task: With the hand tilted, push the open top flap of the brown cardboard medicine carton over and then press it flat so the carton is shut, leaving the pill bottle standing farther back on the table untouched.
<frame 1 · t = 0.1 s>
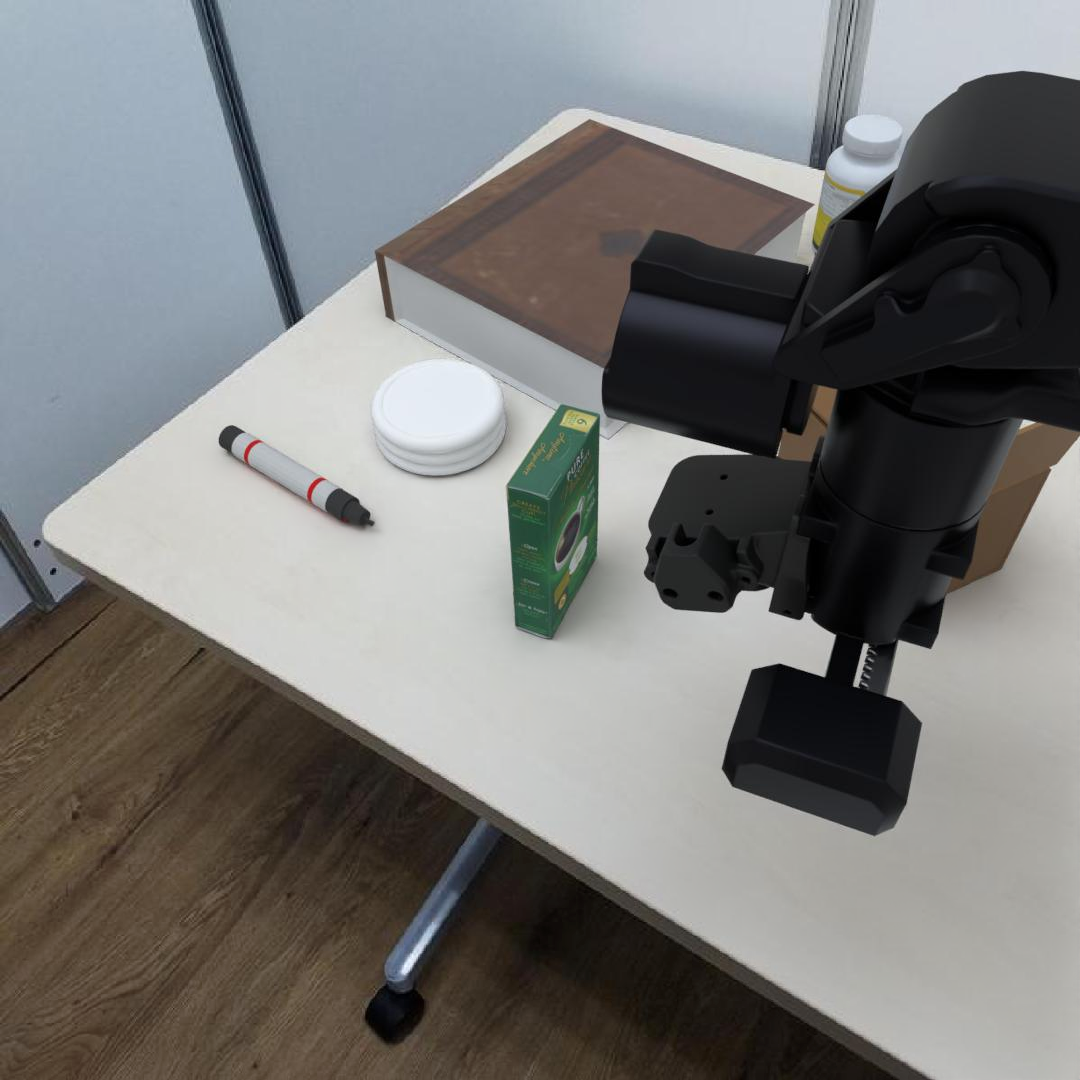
hand: (820, 708, 47), 12 cm above the table, tool pointing down, fingers open, 9 cm apart
coffee box: (557, 591, 68), on the table
book: (597, 295, 89), on the table
pill bottle: (845, 252, 92), on the table
white round container: (441, 434, 78), on the table
carton: (881, 530, 70), on the table
flap: (1015, 457, 56), point 13 cm above the table, hinge at 100.0°
marker: (302, 490, 74), on the table
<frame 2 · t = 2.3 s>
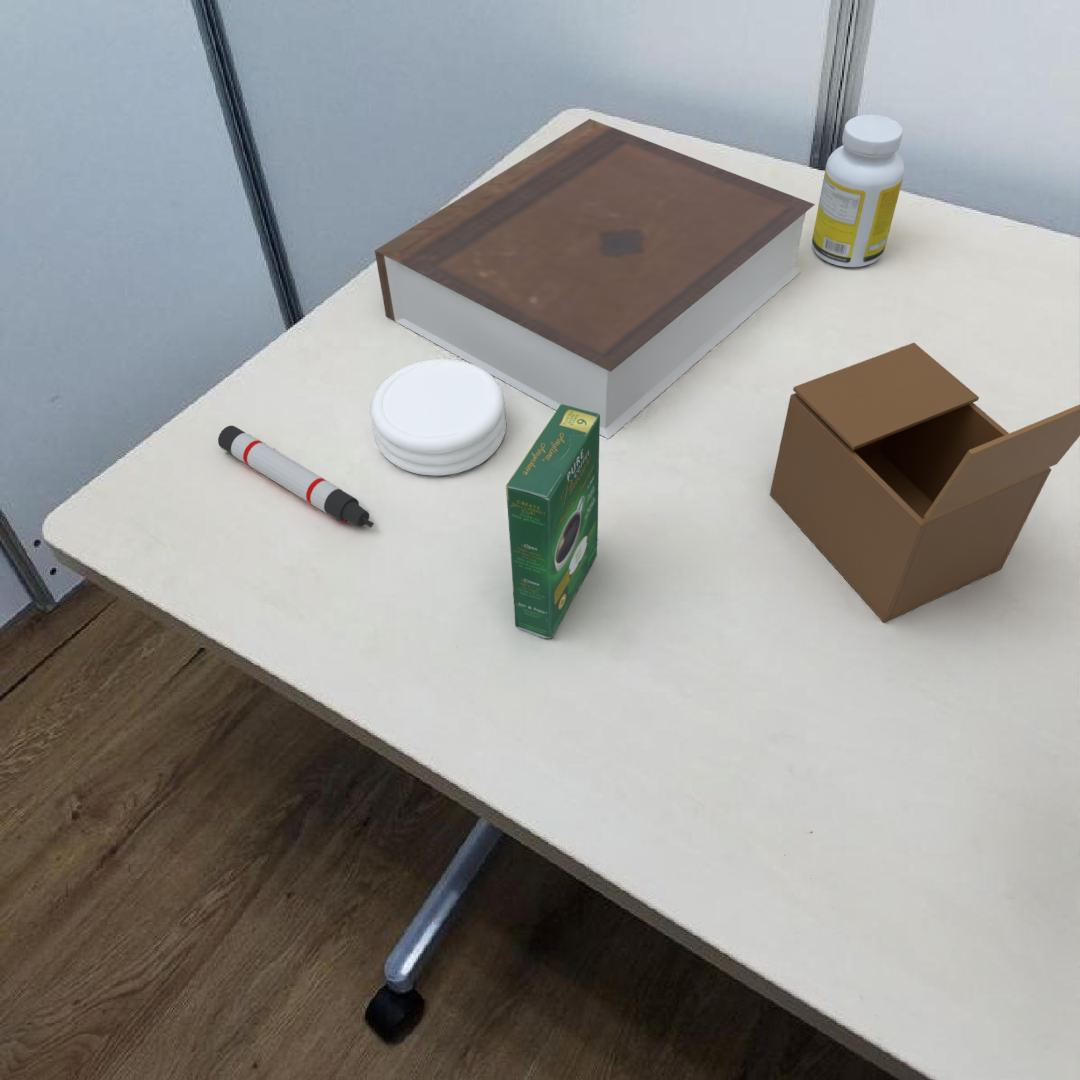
nothing on the table moved.
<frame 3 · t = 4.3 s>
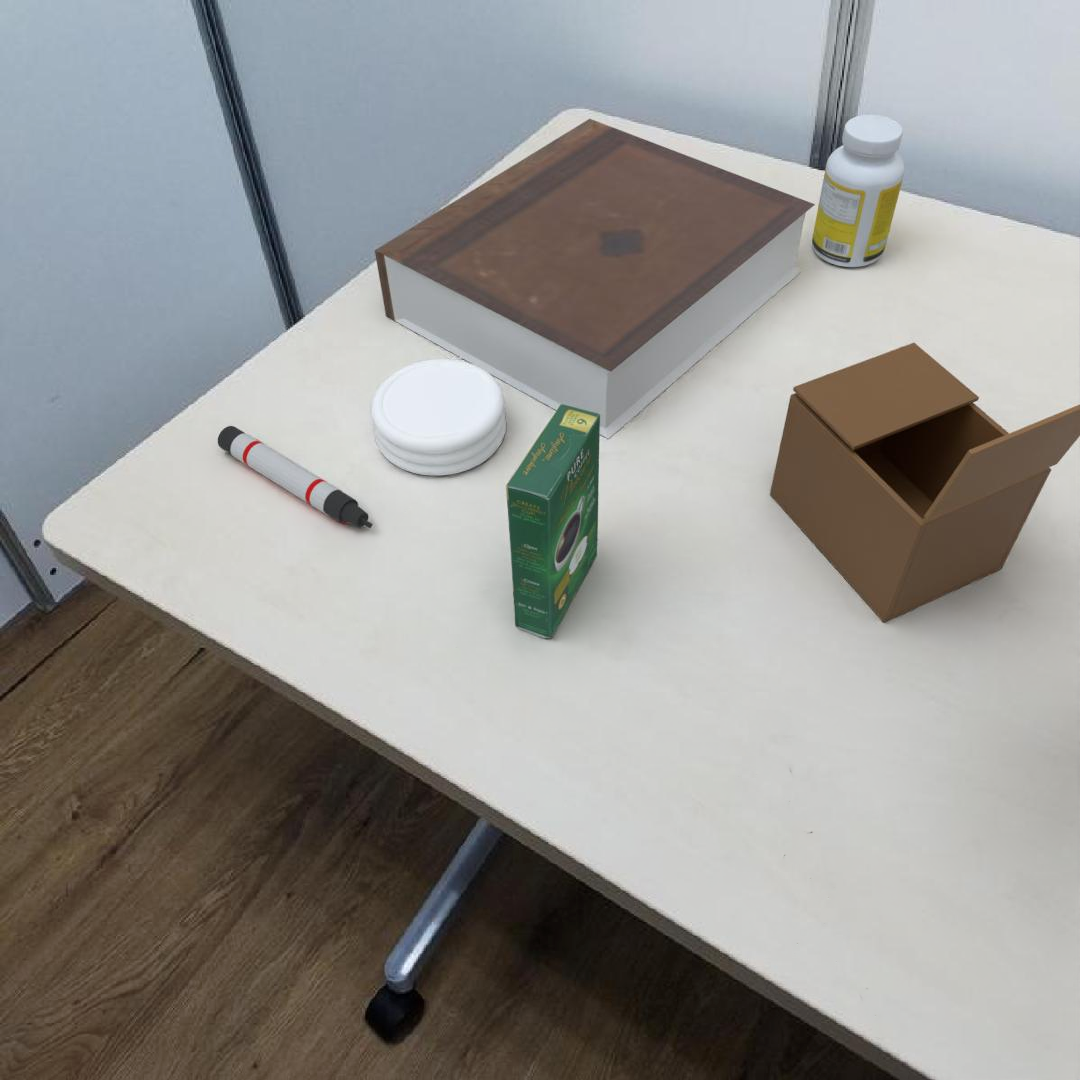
nothing on the table moved.
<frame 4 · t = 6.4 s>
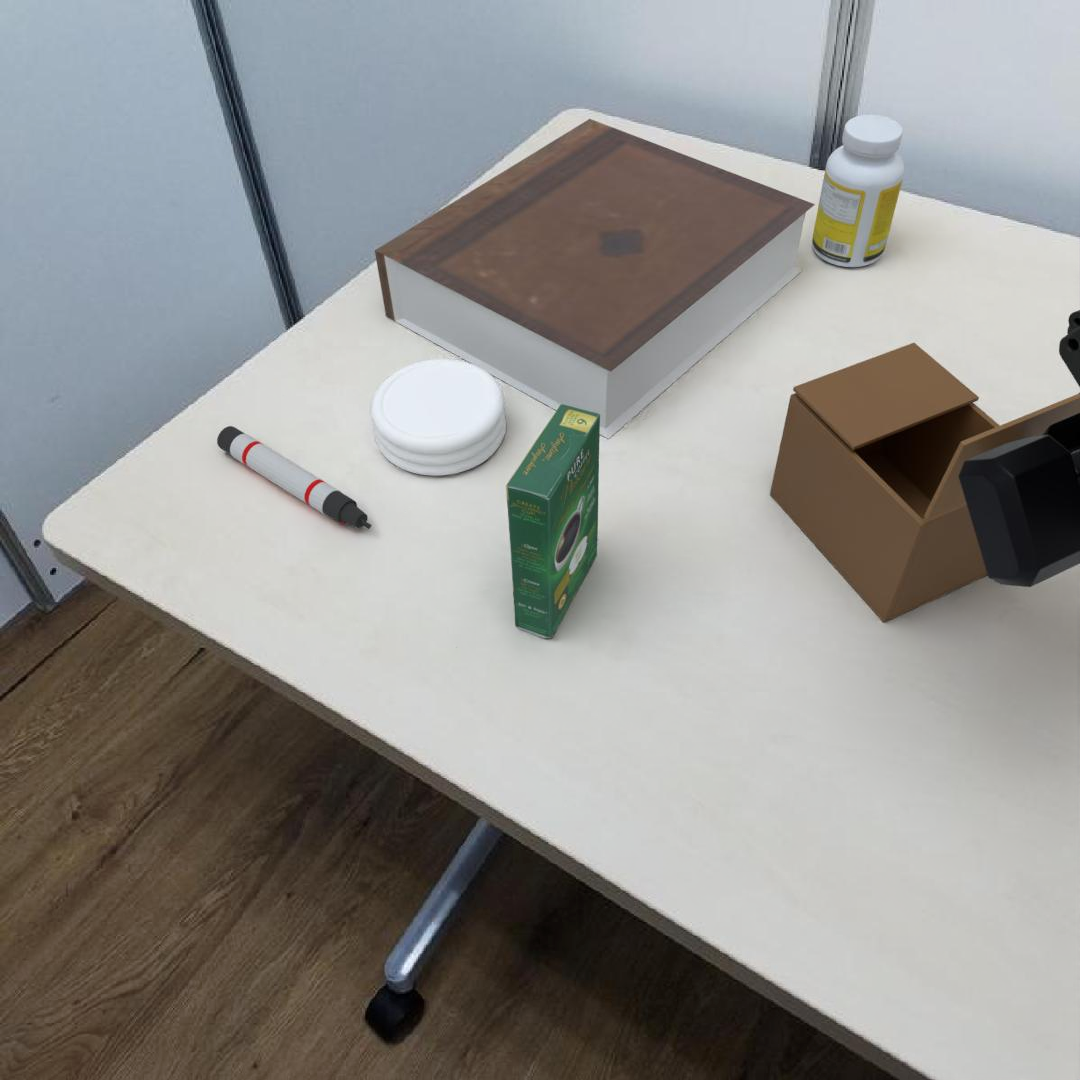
hand: (1011, 469, 57), 12 cm above the table, tool tilted 45°, fingers closed, pressing on flap
flap: (1011, 453, 56), point 13 cm above the table, hinge at 94.0°, touching gripper
everything else where it was.
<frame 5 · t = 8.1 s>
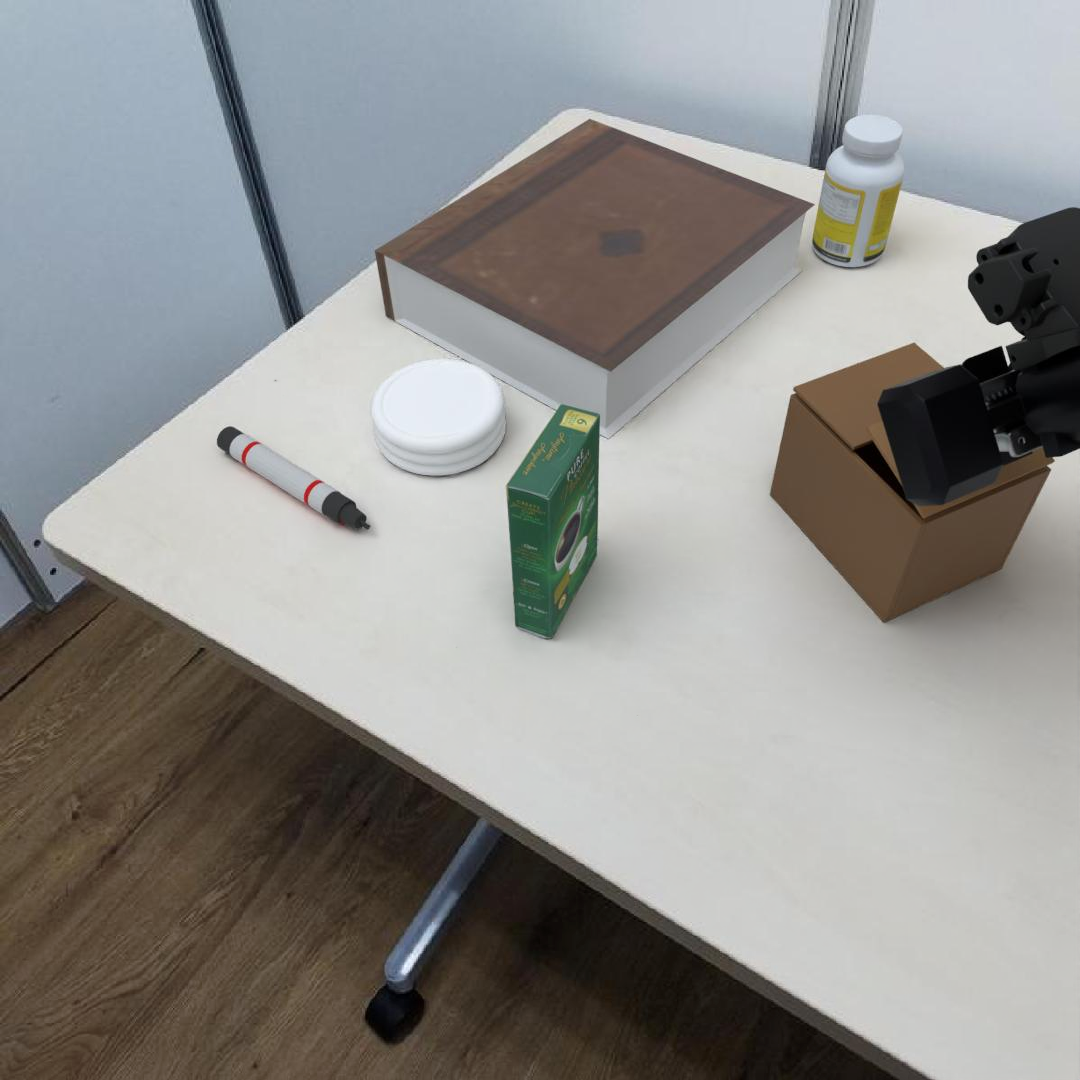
hand: (940, 409, 60), 12 cm above the table, tool tilted 45°, fingers closed, pressing on flap
flap: (960, 445, 60), point 11 cm above the table, hinge at 19.4°, touching gripper
everything else where it was.
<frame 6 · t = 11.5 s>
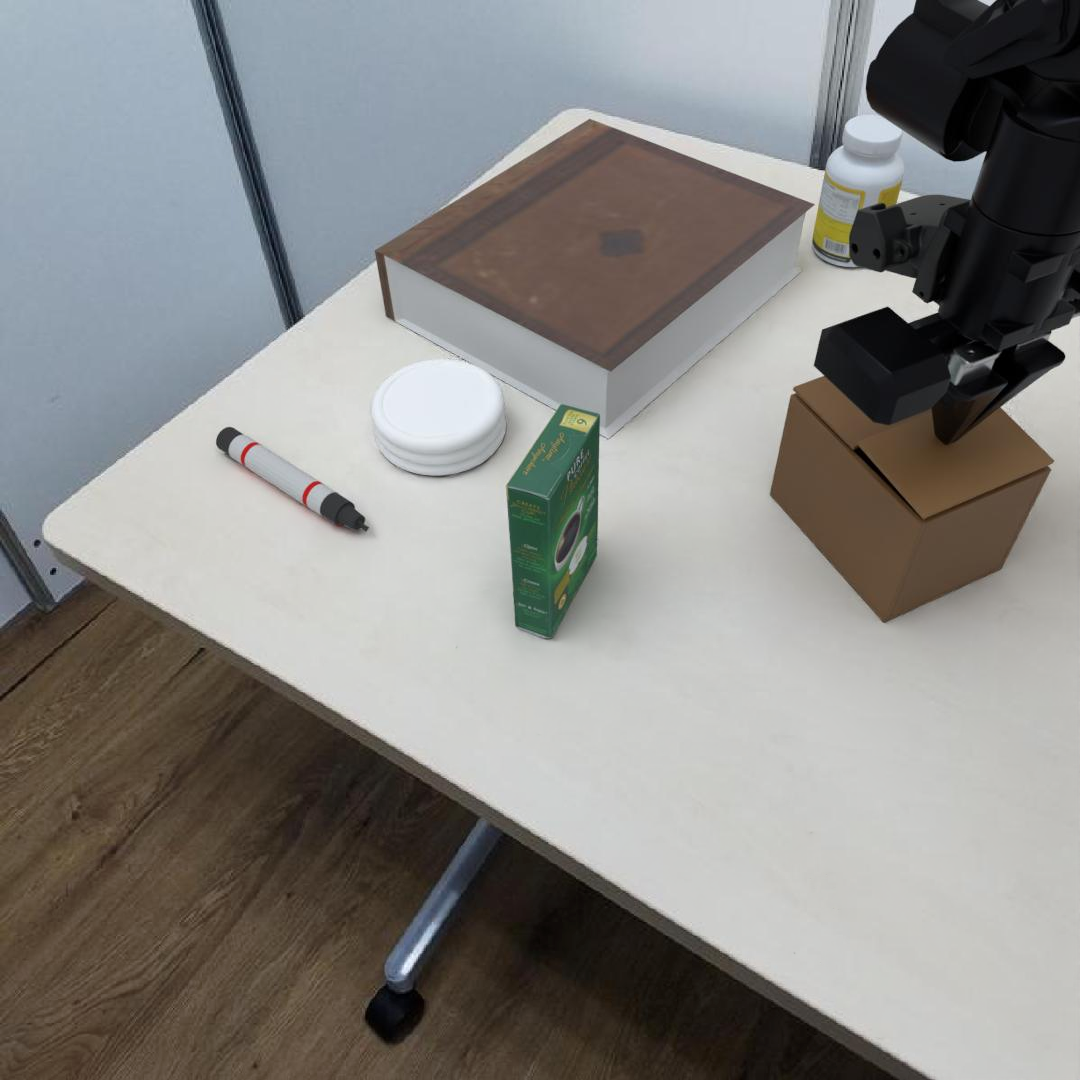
hand: (945, 438, 61), 11 cm above the table, tool pointing down, fingers closed, pressing on flap
flap: (955, 452, 60), point 10 cm above the table, hinge at 5.7°, touching gripper
everything else where it was.
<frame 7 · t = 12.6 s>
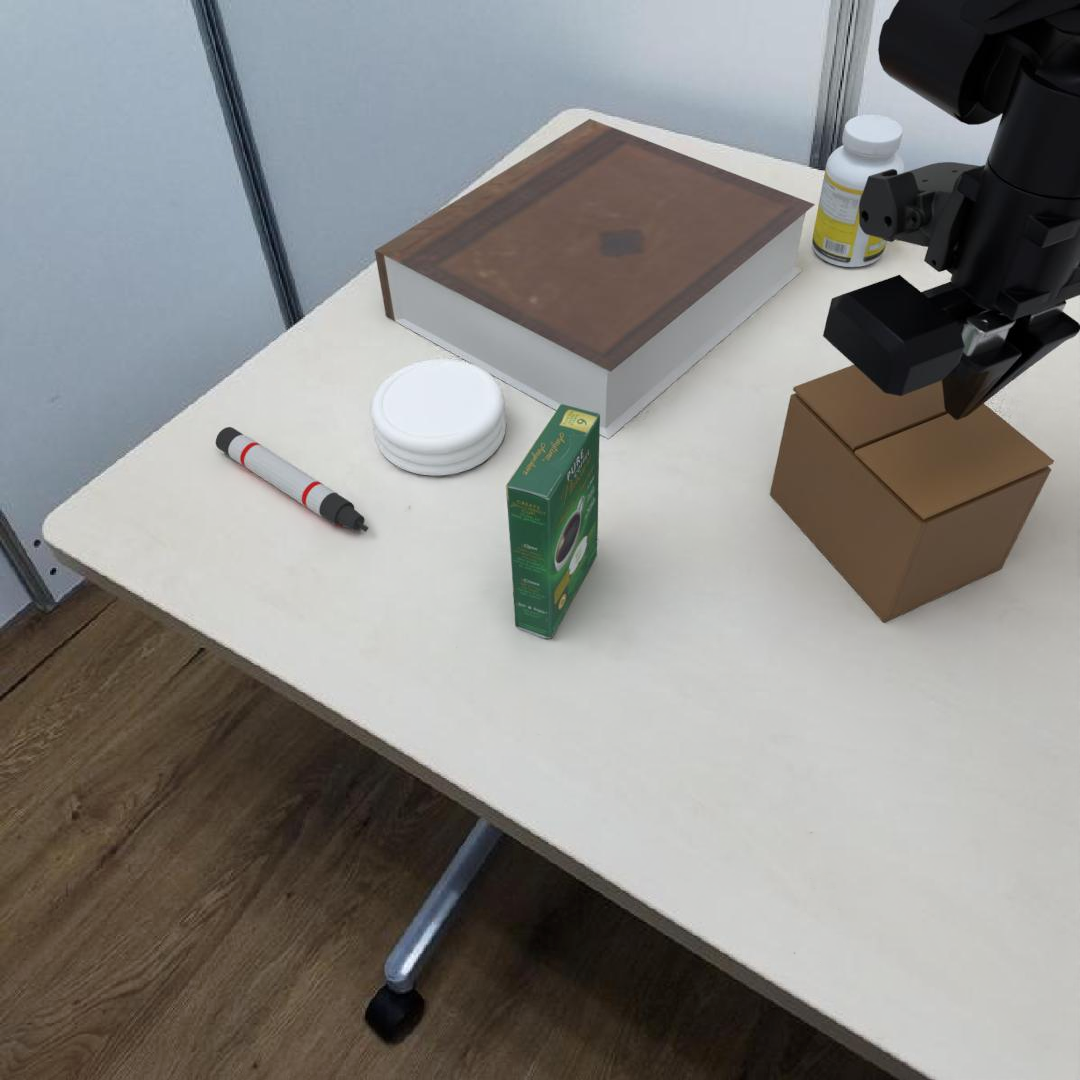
hand: (955, 413, 60), 12 cm above the table, tool pointing down, fingers closed
flap: (953, 457, 61), point 10 cm above the table, hinge at -1.3°
everything else where it was.
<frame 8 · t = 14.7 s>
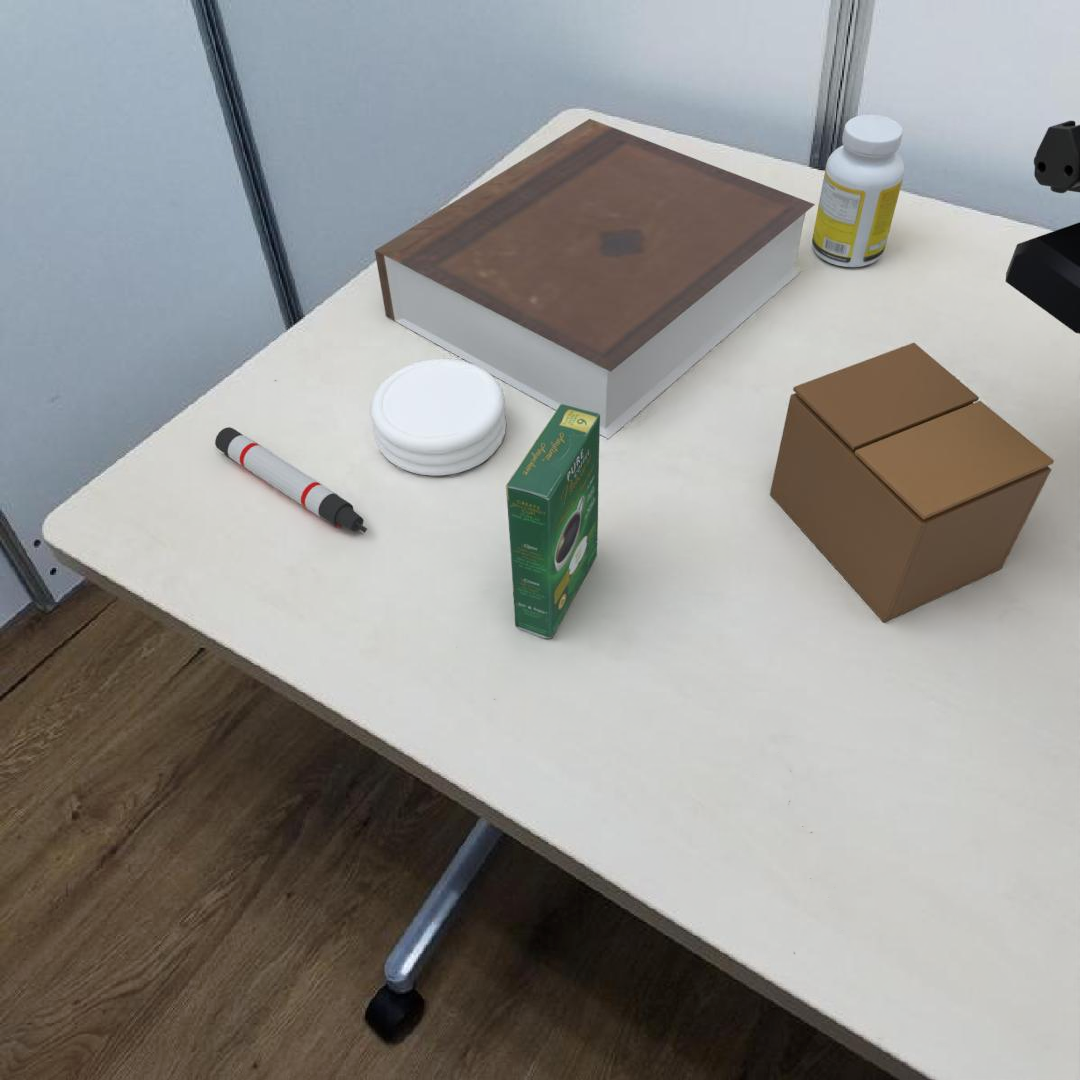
nothing on the table moved.
at the end: flap at -1° (first picture: +100°); pill bottle moved 0.2 cm from its start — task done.
